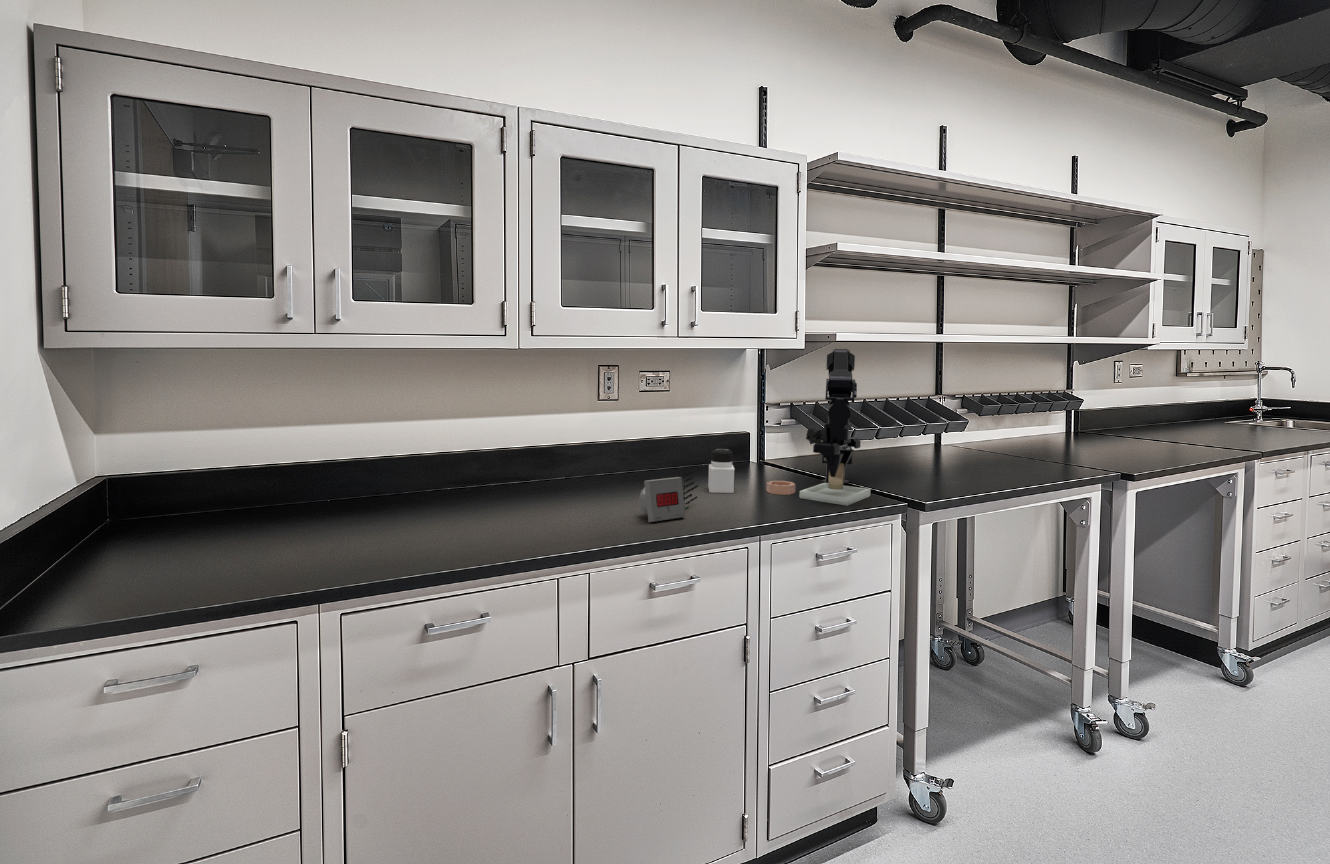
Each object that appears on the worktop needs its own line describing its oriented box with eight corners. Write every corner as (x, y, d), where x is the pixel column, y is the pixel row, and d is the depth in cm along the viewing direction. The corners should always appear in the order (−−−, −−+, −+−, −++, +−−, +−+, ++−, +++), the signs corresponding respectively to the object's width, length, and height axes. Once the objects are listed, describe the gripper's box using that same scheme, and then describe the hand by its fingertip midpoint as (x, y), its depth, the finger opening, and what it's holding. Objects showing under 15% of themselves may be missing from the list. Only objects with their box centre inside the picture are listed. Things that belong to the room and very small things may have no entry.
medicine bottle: (734, 493, 199) (735, 451, 197) (709, 492, 199) (710, 451, 197) (732, 488, 206) (733, 448, 204) (708, 487, 206) (709, 447, 204)
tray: (824, 489, 206) (824, 482, 206) (870, 496, 198) (870, 489, 198) (799, 498, 194) (799, 490, 193) (847, 505, 185) (847, 498, 185)
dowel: (831, 486, 198) (832, 461, 197) (845, 488, 196) (846, 463, 195) (825, 488, 195) (826, 463, 194) (839, 490, 193) (840, 465, 192)
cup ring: (775, 488, 207) (775, 479, 207) (798, 491, 202) (799, 483, 202) (762, 492, 201) (762, 483, 201) (786, 495, 196) (786, 487, 196)
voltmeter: (675, 526, 161) (675, 484, 160) (629, 521, 165) (630, 480, 164) (709, 503, 186) (709, 466, 185) (668, 499, 190) (669, 463, 189)
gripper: (826, 415, 205) (823, 468, 207) (796, 420, 191) (794, 476, 193) (862, 418, 199) (859, 472, 201) (834, 423, 184) (832, 482, 186)
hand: (836, 475), depth 195 cm, fingers closed on dowel, 4 cm apart
